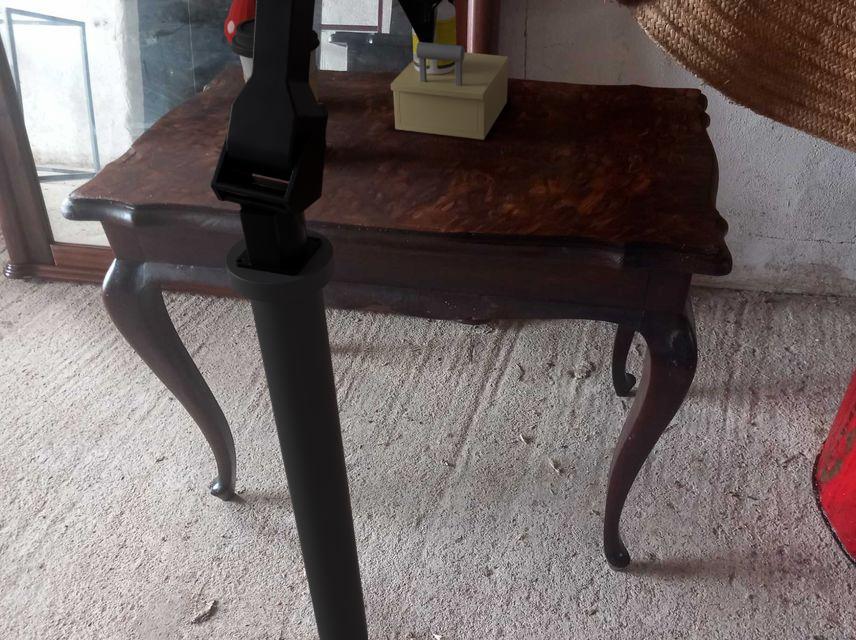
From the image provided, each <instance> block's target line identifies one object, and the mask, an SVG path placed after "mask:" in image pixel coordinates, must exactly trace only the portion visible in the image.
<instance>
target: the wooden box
mask: <svg viewBox="0 0 856 640" xmlns="http://www.w3.org/2000/svg"><path fill="white" fill-rule="evenodd" d="M508 79H509V62H508V63H507V65H506V66H505V68H504V69H503V71H502V72H501V74H500V75H499V77H498V78H497V80H496V81H495V83H494V84H493V86H492V87H491V89H490V90H489V92H488V93H487V95H486V96H485V98H484V99H483V100H476V99H467V98H458V97H449V96H440V95H431V94H421V93H412V92H403V91H394V90H392V92H393V109H394V129H395V130H399V131H407V132H416V133H424V134H433V135H440V136H449V137H457V138H465V139H466V138H467V139H475V140H481V141H482V140H483V141H484V140H485V138H486V137H487V135H488V134H489V132H490V130H491V129H492V127H493V125H494V124H495V122H496V121H497V119H498V117H499V116H500V114H501V113H502V111H503V109H504V107H505V106H506V104H507V102H508V83H509V82H508Z"/></svg>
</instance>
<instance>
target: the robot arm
mask: <svg viewBox="0 0 856 640" xmlns="http://www.w3.org/2000/svg"><path fill="white" fill-rule="evenodd" d="M442 1H443V0H397V2H398V3H399V5H400V7H401V9H402V10H403V12H404V14H405V16H406V17H407V19H408V22H409V23H410V25H411V29H412V28H413V30H414V32H415V34H416V36H417V38H418V40H419V42H425V43H433V42H434V36H435V27H436V19H437V10H438V6H439V4H440V3H441V2H442ZM448 2H449V3H451V4H452V5H453V6H454V7H455V4H456V0H448ZM315 5H316V0H256V10H255V27H254V45H253V62H252V73H251V76H250V77H249V79H248V80H247V82H246V83H244V85H243V86H242V88H241V89H240V90H239V92H238V94H237V95H236V97H235V98H234V99H233V101H232V102H231V107H230V114H229V121H228V127H227V133H226V136H225V139H224V142H223V144H222V148H221V151H220V153H219V157H218V159H217V163H216V166H215V169H214V172H213V175H212V178H211V181H210V187H211V189H212V191H213V193H214V196H215V197H216V198H217V200H218V201H221V202H230V203H233V204H237V205H239V208H240V209H239V210H238V213H239V216H240V217H239V218H240V222H241V228H242V234H243V238H244V239H245V244H246V249H245V250H244V251H243V253H242V254H241V255H240V256H239V257H238V258H237V259H236V260H235V264H236V266H237V267H241V268H247V269H253V270H259V271H265V272H271V273H277V274H283V275H289V276H296V275H298V274H299V272H300V271H301V270H302V269H303V267H304V266H305V265H306V264H307V262H308V261H309V260H310V259H311V257H312V256H313V255H314V254H315V252H316V251H317V250H318V249H319V247H320V246H321V245H322V239H321V238H317V237H310V236H307V229H308V228H307V221H306V215H305V211H306V210H308V209H309V208H310V207H311V206H312V205H314V203H316V202H317V201H318V200H319V199H321V198H322V195H323V183H324V169H325V159H326V158H325V156H326V149H327V147H328V146H327V137H326V136H327V125H328V120H329V110H328V105H327V104H326V103H324V102H319V101H318V102H317V100H316V98H315V96H314V93H313V91H312V89H311V87H310V84H309V70H310V58H311V45H312V33H313V30H314V29H313V28H314V21H315V20H314V19H315V17H314V16H315V8H316V7H315ZM256 175H257V176H256ZM261 176H262V177H261ZM264 177H265V178H264ZM274 179H275V180H274ZM278 180H280V181H278Z"/></svg>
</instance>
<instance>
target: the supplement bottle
mask: <svg viewBox="0 0 856 640" xmlns="http://www.w3.org/2000/svg"><path fill="white" fill-rule="evenodd" d="M411 29H412V30H411V31H412V53H413V54H412V55H413V60H414V67H415V69H416V70H417V71H419V72H420V68H419V58H418V57H417V55H416V48H417V44H418V42H419V40H418V38H417V36H416V34H415V32H414V30H413V28H412V27H411ZM433 43H436V44H446V45H457V11H456V8H455V5H454V6H453V5H452V4H451V3H449V2H448V0H443V1H442V2H441V3H440V4H439V6H438V10H437V19H436V27H435V36H434V42H433ZM454 69H455V62H453V61H443V60H433V59H426V72H427V74H444V73H448V72H451V71H453V70H454Z"/></svg>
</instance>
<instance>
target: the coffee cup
mask: <svg viewBox="0 0 856 640" xmlns="http://www.w3.org/2000/svg"><path fill="white" fill-rule="evenodd" d="M254 27H255V17H254V18H251V19H247V20H245V21H242V22H241V23H239V24H238V25H237V26H236V34H235V35H234V36H233V38H232V44H231V46H230V47H231V51H232V52H233V53H235V54H236V55H238V56H239V59H240V62H241V66H242V70H243V73H242V74H243V79H244V82H245V83H246V82H247V80H248V79H249V77H250V76H251V73H252V62H253V45H254ZM320 44H321V41H320V39H319V34H318V32H317V31H316V30H314V29H313V33H312V45H311V58H310V70H309V84H310V87H311V89H312V91H313V93H314V96H315V98H316V100H317V102H319V83H318V81H319V80H318V77H319V75H318V73H319V72H318V66H317V51H316V50H317V49H318V47H320ZM245 83H244V84H245Z"/></svg>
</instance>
